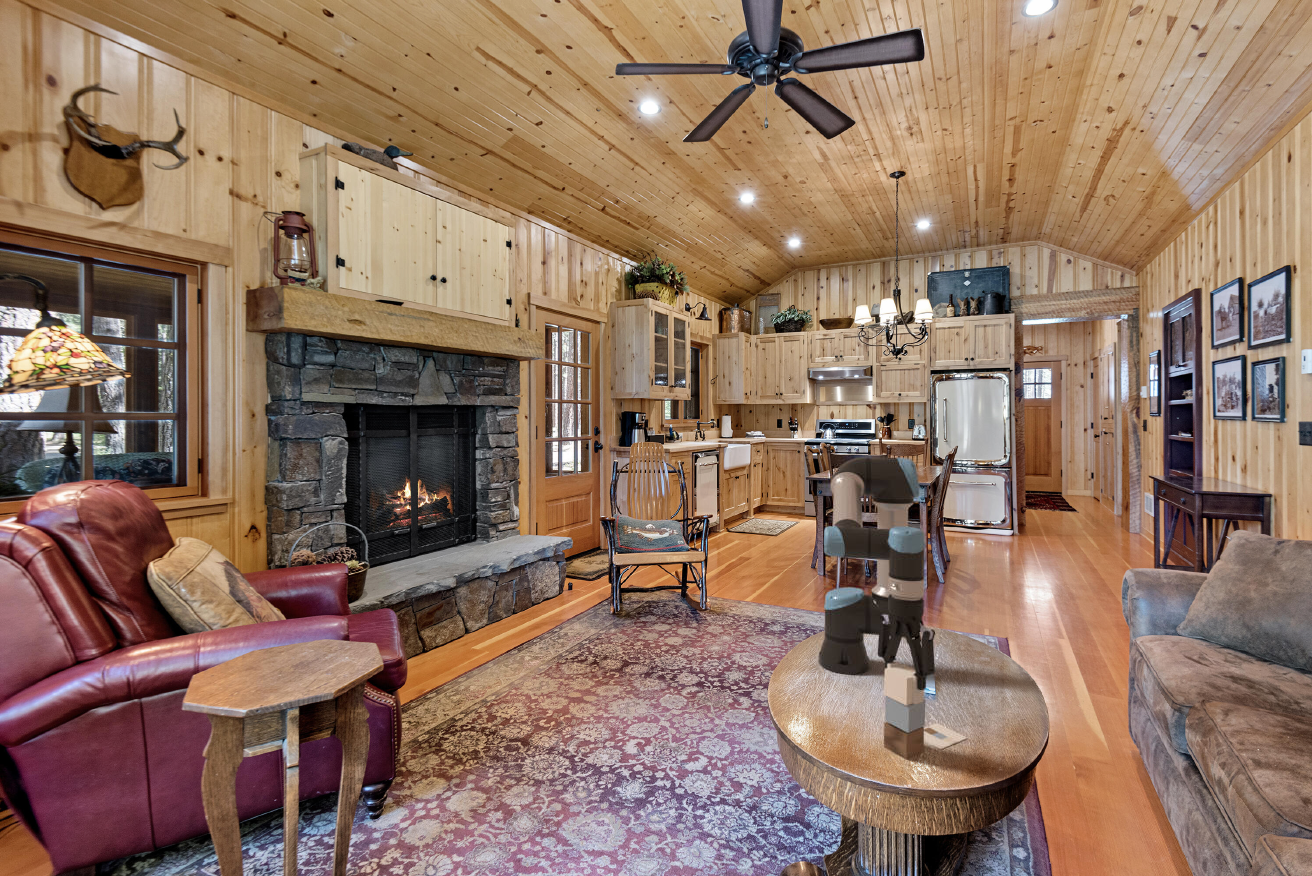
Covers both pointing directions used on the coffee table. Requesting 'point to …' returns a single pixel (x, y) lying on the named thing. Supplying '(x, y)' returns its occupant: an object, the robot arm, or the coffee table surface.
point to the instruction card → (941, 736)
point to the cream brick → (899, 683)
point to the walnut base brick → (903, 741)
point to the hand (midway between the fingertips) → (904, 696)
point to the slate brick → (905, 714)
